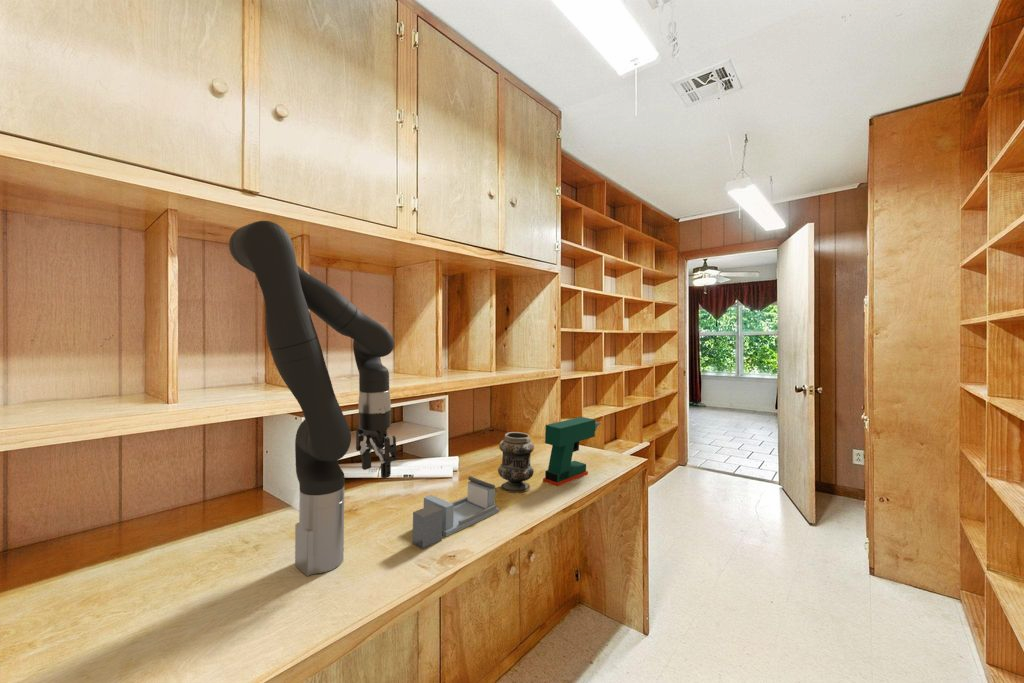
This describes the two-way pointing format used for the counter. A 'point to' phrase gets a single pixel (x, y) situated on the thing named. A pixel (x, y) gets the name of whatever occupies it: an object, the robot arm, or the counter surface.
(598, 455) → the counter surface
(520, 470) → the apothecary jar
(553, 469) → the power tool
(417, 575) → the counter surface
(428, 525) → the block
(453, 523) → the vise base
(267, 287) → the robot arm
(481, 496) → the free jaw
